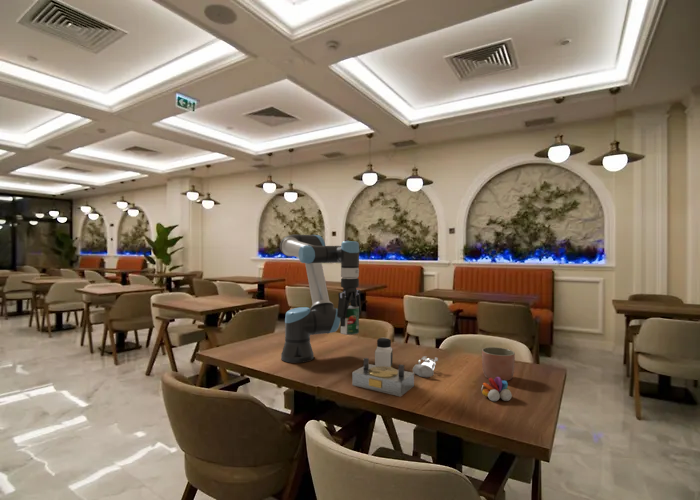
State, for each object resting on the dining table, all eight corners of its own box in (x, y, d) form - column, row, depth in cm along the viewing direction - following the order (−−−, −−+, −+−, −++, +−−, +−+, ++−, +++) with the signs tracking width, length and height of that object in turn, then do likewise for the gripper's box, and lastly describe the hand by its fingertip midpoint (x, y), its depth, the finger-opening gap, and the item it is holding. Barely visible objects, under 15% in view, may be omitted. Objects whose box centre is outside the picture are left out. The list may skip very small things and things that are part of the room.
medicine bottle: (391, 368, 161) (391, 341, 161) (374, 367, 163) (374, 340, 163) (392, 363, 168) (392, 337, 168) (376, 362, 170) (377, 336, 170)
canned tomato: (341, 335, 152) (341, 308, 152) (339, 330, 160) (339, 305, 159) (360, 334, 153) (360, 307, 153) (357, 330, 161) (357, 304, 161)
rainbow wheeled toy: (477, 393, 134) (477, 373, 134) (503, 392, 135) (503, 372, 135) (488, 403, 126) (488, 381, 126) (515, 402, 127) (515, 381, 127)
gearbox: (351, 385, 141) (351, 361, 141) (368, 376, 151) (368, 354, 151) (399, 397, 130) (400, 371, 130) (413, 386, 141) (414, 362, 141)
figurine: (409, 365, 153) (421, 353, 162) (411, 379, 153) (423, 367, 163) (430, 367, 147) (441, 355, 157) (432, 382, 148) (443, 369, 158)
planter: (475, 375, 154) (475, 348, 154) (498, 371, 158) (498, 346, 158) (497, 385, 142) (497, 356, 142) (521, 381, 147) (522, 353, 147)
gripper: (343, 280, 145) (343, 338, 146) (369, 276, 163) (369, 328, 163) (328, 279, 149) (327, 335, 150) (355, 275, 167) (354, 326, 167)
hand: (349, 331), depth 156 cm, fingers closed on canned tomato, 8 cm apart
